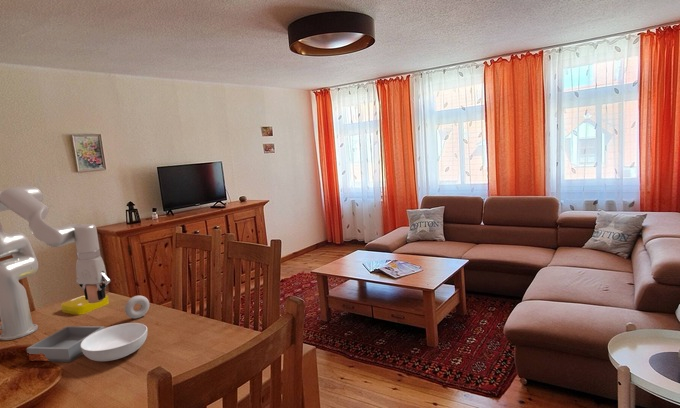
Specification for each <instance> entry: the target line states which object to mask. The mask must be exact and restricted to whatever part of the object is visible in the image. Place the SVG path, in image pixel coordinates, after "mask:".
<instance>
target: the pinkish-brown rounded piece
mask: <svg viewBox="0 0 680 408" xmlns="http://www.w3.org/2000/svg"><path fill="white" fill-rule="evenodd" d="M100 286H101V283H100ZM86 290H87V296H88V303H97V302H100V301H102V300H103V299H102V300H98V294H97V291H98V288H97V285H96V284H87V285H86Z"/></svg>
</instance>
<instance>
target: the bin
mask: <svg viewBox="0 0 680 408" xmlns="http://www.w3.org/2000/svg"><path fill="white" fill-rule="evenodd" d="M105 328H106V326H99V325H98V326H95V325H94V326H93V325H92V326H91V325H90V326H89V325H88V326H87V325H86V326H83V325H79V326H78V325H76V326H73V325H71V326H70V325H68V326H67V325H66V326H65V327H62V328H61V329H59V330H58V331H55V332H54V333H52V334H50V335H49V336H46V337H45V338H42V339H41V340H39V341H37V342H35V343H33V344H32V345H30V346H28V347H26V353H29V354H40V353H42V354H44V355H45V357H46V358H47V359H48V360H49V361H51V362H50V363H72V362H73V361H75V360H76V359H78V358H79V357H80V356H83V355H84V354H83V352H82V350H81V347H80V344H81V342H82V341H83V340H84V339H85V338H86V337H88V336H89V335H91V334H93V333H95V332H97V331H99V330H102V329H105Z"/></svg>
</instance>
